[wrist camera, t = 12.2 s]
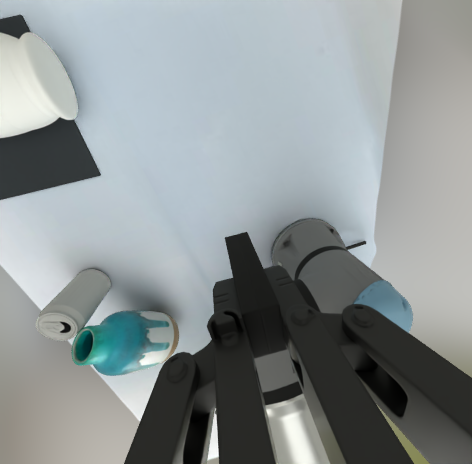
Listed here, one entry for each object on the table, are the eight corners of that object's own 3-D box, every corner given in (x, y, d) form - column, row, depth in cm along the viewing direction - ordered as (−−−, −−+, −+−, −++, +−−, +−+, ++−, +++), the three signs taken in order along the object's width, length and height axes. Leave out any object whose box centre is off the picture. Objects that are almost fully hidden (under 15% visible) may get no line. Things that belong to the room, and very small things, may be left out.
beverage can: (110, 295, 45) (79, 345, 34) (77, 290, 43) (32, 340, 32) (114, 270, 43) (81, 315, 32) (78, 264, 41) (31, 308, 30)
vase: (151, 368, 47) (54, 394, 31) (148, 319, 52) (63, 319, 36) (190, 356, 45) (107, 377, 28) (183, 305, 50) (108, 299, 33)
